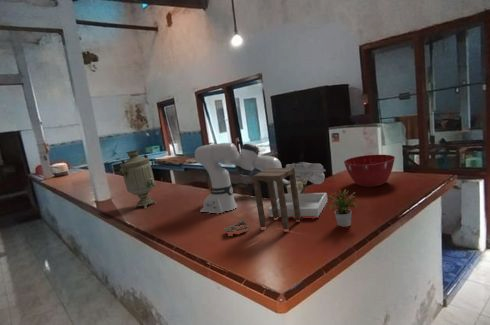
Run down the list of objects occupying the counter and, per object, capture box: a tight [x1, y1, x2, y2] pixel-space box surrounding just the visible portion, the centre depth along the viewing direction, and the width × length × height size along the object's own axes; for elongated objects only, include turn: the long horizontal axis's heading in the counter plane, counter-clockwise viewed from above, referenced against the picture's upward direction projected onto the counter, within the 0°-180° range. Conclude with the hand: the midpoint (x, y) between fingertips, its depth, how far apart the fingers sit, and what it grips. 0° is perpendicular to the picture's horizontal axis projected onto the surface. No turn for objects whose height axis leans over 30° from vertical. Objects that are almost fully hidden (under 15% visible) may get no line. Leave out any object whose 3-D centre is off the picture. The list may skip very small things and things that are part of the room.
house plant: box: [324, 188, 358, 227], centre depth 131 cm, size 14×14×16 cm
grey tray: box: [268, 192, 329, 218], centre depth 160 cm, size 25×24×5 cm
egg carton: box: [224, 220, 249, 232], centre depth 144 cm, size 11×8×4 cm
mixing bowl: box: [343, 154, 396, 188], centre depth 184 cm, size 28×28×15 cm
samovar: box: [114, 149, 158, 210], centre depth 213 cm, size 30×26×40 cm
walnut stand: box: [251, 167, 302, 230], centre depth 141 cm, size 14×14×26 cm
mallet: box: [286, 177, 306, 194], centre depth 160 cm, size 14×6×4 cm, turn 144°
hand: (298, 164), depth 159 cm, fingers open, 4 cm apart
